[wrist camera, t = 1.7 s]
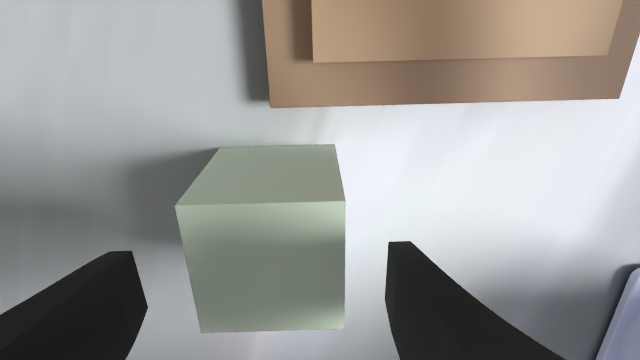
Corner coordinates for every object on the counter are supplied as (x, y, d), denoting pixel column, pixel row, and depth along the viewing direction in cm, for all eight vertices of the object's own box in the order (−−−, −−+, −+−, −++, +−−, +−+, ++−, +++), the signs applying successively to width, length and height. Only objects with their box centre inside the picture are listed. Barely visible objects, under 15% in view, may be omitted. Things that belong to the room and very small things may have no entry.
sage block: (334, 143, 14) (345, 201, 9) (334, 240, 16) (344, 328, 11) (220, 147, 14) (174, 205, 9) (234, 243, 16) (201, 333, 11)
